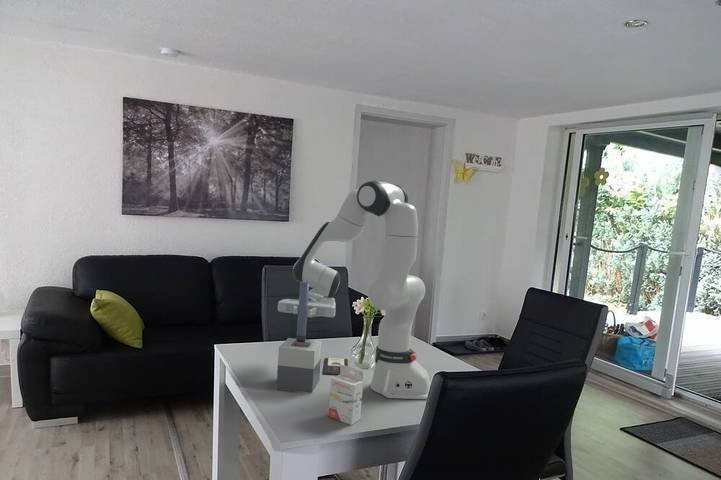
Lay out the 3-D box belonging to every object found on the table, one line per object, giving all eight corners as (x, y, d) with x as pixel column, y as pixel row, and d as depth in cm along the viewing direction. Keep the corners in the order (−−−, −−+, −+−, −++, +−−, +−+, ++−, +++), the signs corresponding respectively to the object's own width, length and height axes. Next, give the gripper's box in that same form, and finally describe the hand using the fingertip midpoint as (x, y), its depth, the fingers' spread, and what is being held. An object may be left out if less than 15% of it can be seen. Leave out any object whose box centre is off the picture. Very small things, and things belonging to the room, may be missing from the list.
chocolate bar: (323, 373, 177) (325, 357, 195) (323, 375, 177) (324, 360, 195) (347, 374, 178) (347, 359, 196) (347, 377, 178) (347, 361, 196)
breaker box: (319, 380, 171) (321, 341, 170) (312, 393, 159) (314, 351, 158) (286, 376, 172) (288, 337, 171) (276, 389, 161) (278, 347, 160)
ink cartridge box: (327, 417, 142) (330, 367, 141) (337, 411, 146) (340, 363, 145) (351, 425, 138) (355, 374, 137) (361, 419, 142) (364, 370, 141)
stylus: (306, 340, 166) (310, 282, 165) (304, 342, 163) (308, 283, 162) (297, 339, 167) (301, 281, 165) (295, 341, 164) (299, 282, 162)
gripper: (283, 293, 178) (272, 300, 164) (339, 298, 176) (332, 306, 162) (282, 310, 178) (271, 318, 165) (337, 315, 176) (331, 324, 162)
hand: (302, 312), depth 163 cm, fingers closed on stylus, 3 cm apart
